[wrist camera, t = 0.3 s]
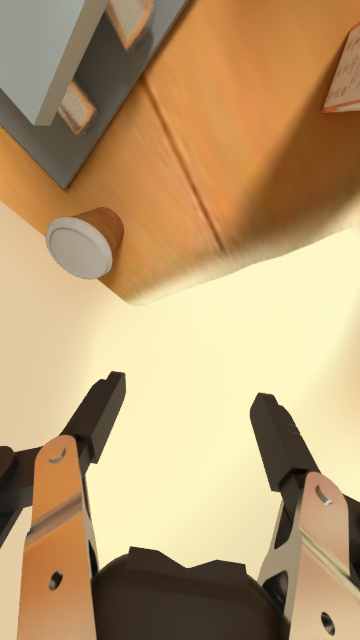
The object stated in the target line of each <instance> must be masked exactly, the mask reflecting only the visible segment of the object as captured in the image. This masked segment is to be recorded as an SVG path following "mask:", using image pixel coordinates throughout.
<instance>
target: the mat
mask: <svg viewBox="0 0 360 640" xmlns="http://www.w3.org/2000/svg"><path fill="white" fill-rule="evenodd" d="M189 1H190V0H153V3H154V5H155V8H156V14H155V19H154V22H153V25H152V27H151V30H150V32H149V34H148V36H147V37H146V39H145V41H144V42H143V44H142V45H141V46H140V48H139V49H138V50H137V51H136V52H135V53H134V54H132V55H127V53H126V51H125V49H124V47H123V46H122V44H121V42H120V40H119V38H118V36H117V34H116V32H115V31H114V29H113V27H112V25H111V23H110V21H109V19H108V17H107V16H106V14H105V12H103V14H102V16H101V19H100V21H99V23H98V25H97V27H96V29H95V31H94V34H93V36H92V38H91V40H90V42H89V44H88V46H87V48H86V51H85V53H84V55H83V57H82V59H81V61H80V63H79V66H78V68H77V70H76V72H75V74H74V77H75V78H76V80H77V81H78V83H79V84H80V85H81V87H82V88H83V90H84V91H85V93H86V94H87V96H88V97H89V99H90V100H91V102H92V103H93V105H94V106H95V107H96V109H97V110H98V116H97V119H96V121H95V123H94V125H93V126H92V128H91V129H90V130H89V131H88V132H87V133H86V134H85V135H84V136H82V137H77V136H76V135H75V134H74V133H73V131H72V130H71V129H70V127H69V126H68V125H67V124H66V122H65V121H64V120H63V119H62V117H61V116H60V115H59V113H58V112H57V113H56V115H55V117H54V119H53V121H52V123H51V125H50V126H38V125H33V124H32V123H31V122H30V121H29V120H28V119H27V117H26V116H25V115H24V114H23V113H22V112H21V111H20V109H19V108H18V107H17V106H16V105H15V104H14V103H13V102H12V100H11V99H10V98H9V97H8V96H7V95H6V94H5V92H4V91H3V90H2V89H1V88H0V124H1V125H2V126H3V127H4V128H5V129H6V130H7V131H8V132H9V133H10V134H11V135H12V137H13V138H14V139H15V140H16V141H17V142H18V143H19V144H20V145H21V146H22V147H23V148H24V149H25V150H26V151H27V152H28V153H29V154H30V155H31V156H32V157H33V158H34V159H35V160H36V162H37V163H38V164H39V165H40V166H41V167H42V168H43V169H44V170H45V171H46V172H47V173H48V174H49V175H50V176H51V177H52V178H53V179H54V180H55V181H56V182H57V183H58V184H59V185H60V187H61V188H62V189H63V190H64V189H67V188H68V186H69V184H70V183H71V181H72V180H73V178H74V177H75V175H76V174H77V172H78V171H79V169H80V168H81V166H82V165H83V163H84V161H85V160H86V158H87V157H88V155H89V154H90V152H91V151H92V149H93V148H94V146H95V145H96V143H97V142H98V140H99V139H100V137H101V135H102V134H103V132H104V131H105V129H106V128H107V126H108V125H109V123H110V122H111V120H112V119H113V117H114V116H115V114H116V113H117V111H118V109H119V108H120V106H121V105H122V103H123V102H124V100H125V99H126V97H127V96H128V94H129V93H130V91H131V90H132V88H133V86H134V85H135V83H136V82H137V80H138V79H139V77H140V76H141V74H142V73H143V71H144V70H145V68H146V67H147V65H148V64H149V62H150V60H151V59H152V57H153V56H154V54H155V53H156V51H157V50H158V48H159V47H160V45H161V44H162V42H163V41H164V39H165V37H166V36H167V34H168V33H169V31H170V30H171V28H172V27H173V25H174V24H175V22H176V21H177V19H178V18H179V16H180V15H181V13H182V11H183V10H184V8H185V7H186V5H187V4H188V2H189Z"/></svg>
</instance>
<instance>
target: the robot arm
mask: <svg viewBox="0 0 360 640" xmlns="http://www.w3.org/2000/svg"><path fill="white" fill-rule="evenodd" d="M125 393H126V382H125V373H121V372H115V371H112V372H111V373H110V374H109V376H108V378H107V379H106V380H104V379H100V380H99V381H98V382H96V383H95V384H94V385H93V386H92V387H91V389H90V390H89V392H88V393H87V396H85V398H84V399H83V401H82V403H81V404H80V405H79V407H78V408H77V410H76V412H75V413H74V414H73V416H72V418H71V419H70V421H69V422H68V424H67V425H66V427H65V428H64V430H63V431H62V432H61V433H60V435H59V436H58V437H56V438H54V439H52V440H50V441H49V442H48V443H46V444H45V445H44V446H41V447H38V448H33V449H28V450H23V451H18V452H14V451H13V450H12V449H11V448H10V447H8V446H0V548H1V546H2V545H3V543H4V541H5V539H6V537H7V536H8V534H9V532H10V531H11V529H12V527H13V525H14V524H15V522H16V520H17V518H18V517H19V515H20V513H21V511H22V510H23V508H25V507H29V506H32V505H33V507H32V523H31V528H30V531H29V532H28V533H27V536H26V539H25V544H24V552H23V564H22V577H21V591H20V603H19V616H18V630H17V640H360V502H358V501H356V500H354V499H352V498H350V497H348V496H346V495H344V494H342V493H341V491H340V490H339V489H338V487H337V486H336V485H335V484H334V483H333V482H332V481H331V480H330V479H328V478H327V477H326V476H324V475H322V473H321V472H320V470H319V469H318V467H317V465H316V463H315V461H314V459H313V457H312V455H311V453H310V451H309V450H308V448H307V446H306V444H305V442H304V440H303V438H302V436H301V435H300V432H299V430H298V428H297V427H296V425H295V423H294V421H293V419H292V417H291V415H290V414H289V413H288V411H287V410H286V409H285V408H284V407H283V406H280V405H278V403H277V400H276V399H275V397H274V395H272V394H265V393H258V394H257V396H256V398H255V400H254V402H253V404H252V406H251V409H250V420H251V424H252V427H253V430H254V434H255V437H256V440H257V444H258V447H259V450H260V454H261V457H262V461H263V464H264V468H265V471H266V474H267V478H268V481H269V484H270V488H271V491H275V492H280V493H281V496H282V499H283V500H282V501H281V504H280V509H279V513H278V517H277V521H276V525H275V529H274V533H273V537H272V541H271V545H270V548H269V551H268V553H267V555H266V557H265V559H264V561H263V564H262V567H261V569H260V573H259V577H258V580H257V581H255V580H254V579H253V578H252V577H251V576H249V575H248V574H247V573H246V566H245V564H241V563H234V562H228V561H221V560H214V561H211V562H208V563H205V564H201V565H198V566H195V567H192V568H185V567H183V566H182V565H180V564H178V563H177V562H175V561H174V560H172V559H171V558H169V557H167V556H166V555H164V554H163V553H161V552H160V551H157V550H151V549H144V548H138V547H130V549H129V553H128V554H125V555H122V556H120V557H118V558H116V559H114V560H113V561H111V562H110V563H108V564H107V565H106V566H105V567H104V568H102V569H101V570H99V562H98V556H97V549H96V541H95V536H94V531H93V526H92V519H91V513H90V505H89V498H88V490H87V483H86V476H85V474H86V472H87V469H88V467H89V465H90V463H95V464H97V463H98V461H99V458H100V456H101V453H102V451H103V449H104V446H105V444H106V442H107V439H108V437H109V434H110V432H111V430H112V427H113V425H114V422H115V420H116V418H117V415H118V413H119V411H120V408H121V406H122V403H123V401H124V397H125Z"/></svg>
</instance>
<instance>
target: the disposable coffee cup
mask: <svg viewBox="0 0 360 640" xmlns="http://www.w3.org/2000/svg"><path fill="white" fill-rule="evenodd" d="M123 234H124V228H123V224H122V221H121V219H120V218H119V217H118V215H117V214H116V213H114V212H113V211H112V210H110V209H108V208H103V207H102V208H97V209H94V210H91V211H88V212H85V213H82V214H79V215H76V216H73V217H61V218H57V219H55V220H54V221H53V222H51V224H50V225H49V228H48V232H47V234H46V244H47V248H48V249H49V252H50V253H51V256H52V257H53V258H54V260H55V261H56V262H57V263H58V264H59V265H60V266H61V267H62V268H64V269H65V270H66V271H67V272H69V273H71V274H73V275H75V276H77V277H80V278H83V279H95V278H98V277H102V276H104V275H106V274H107V273H108V272H109V270H110V268H111V266H112V259H113V257H114V254H115V252H116V250H117V248H118V245H119V243H120V241H121V239H122V237H123Z"/></svg>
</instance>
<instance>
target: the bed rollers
mask: <svg viewBox="0 0 360 640" xmlns="http://www.w3.org/2000/svg"><path fill="white" fill-rule="evenodd" d="M104 12H105V14H106V16H107V17H108V19H109V21H110V23H111V25H112V27H113V29H114V31H115V32H116V34H117V36H118V38H119V40H120V42H121V44H122V46H123V47H124V49H125V51H126V53H127V55H132V54H134V53H135V52H136V51H137V50H138V49H139V48H140V46H141V45H142V44H143V42H144V41H145V39H146V37H147V36H148V34H149V32H150V30H151V27H152V25H153V22H154V19H155V14H156V8H155V5H154V3H153V0H109V1H108V4H107V6H106V8H105V10H104ZM57 112H58V113H59V115H60V116H61V117H62V119H63V120H64V121H65V122H66V124H67V125H68V126H69V127H70V129H71V130H72V131H73V133H74V134H75V135H76V136H77V137H82V136H84V135H85V134H86V133H87V132H88V131H89V130H90V129H91V128H92V126H93V125H94V123H95V121H96V119H97V116H98V110H97V109H96V107H95V106H94V105H93V103H92V102H91V100H90V99H89V97H88V96H87V94H86V93H85V91H84V90H83V88H82V87H81V85H80V84H79V83H78V81H77V80H76V78H75V77H74V76H73V78H72V81H71V83H70V85H69V87H68V89H67V91H66V93H65V95H64V98H63V100H62V102H61V104H60V106H59V108H58V110H57Z"/></svg>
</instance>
